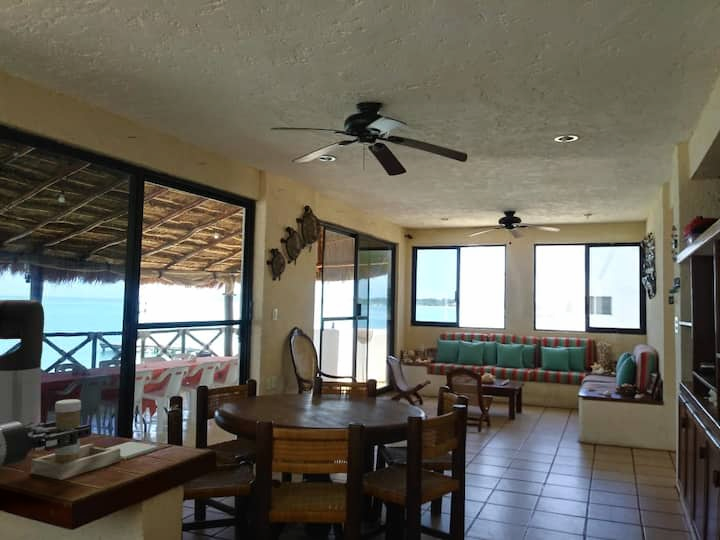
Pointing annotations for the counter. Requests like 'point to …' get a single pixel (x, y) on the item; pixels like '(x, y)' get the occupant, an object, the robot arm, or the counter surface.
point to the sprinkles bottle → (67, 419)
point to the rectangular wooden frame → (75, 462)
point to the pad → (133, 449)
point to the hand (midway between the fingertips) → (76, 427)
